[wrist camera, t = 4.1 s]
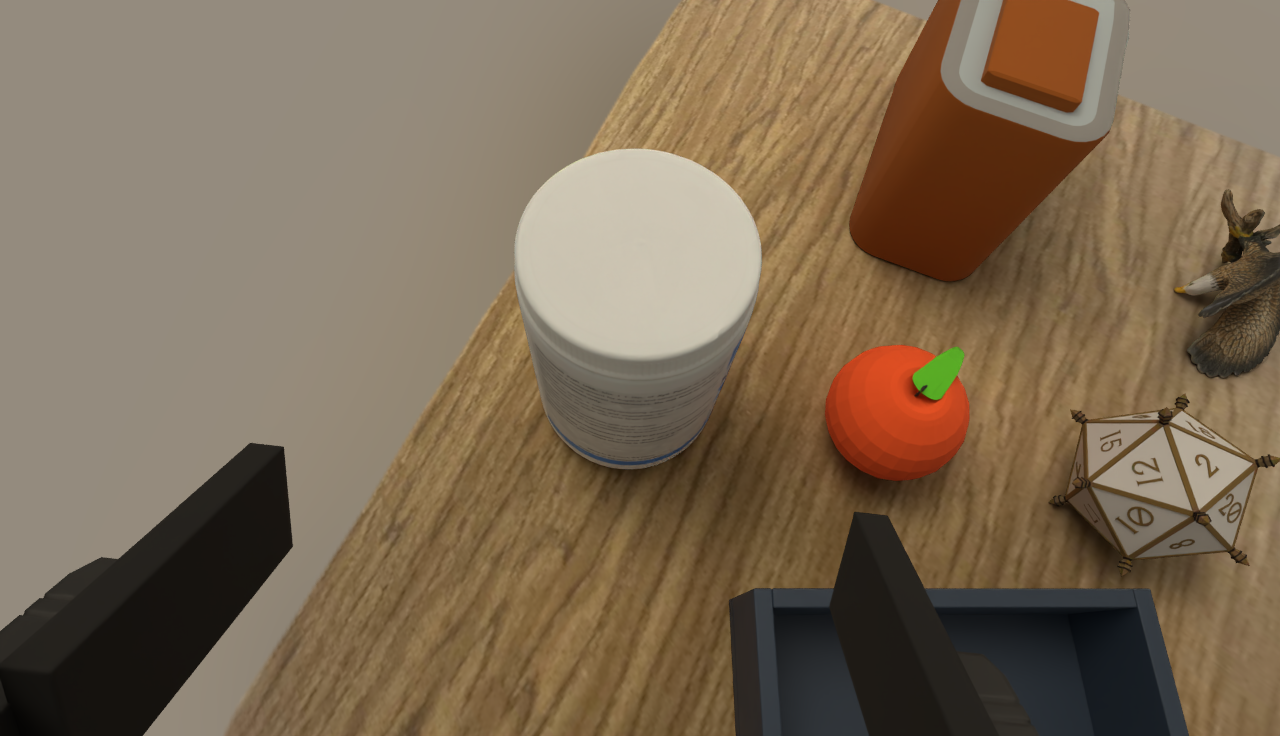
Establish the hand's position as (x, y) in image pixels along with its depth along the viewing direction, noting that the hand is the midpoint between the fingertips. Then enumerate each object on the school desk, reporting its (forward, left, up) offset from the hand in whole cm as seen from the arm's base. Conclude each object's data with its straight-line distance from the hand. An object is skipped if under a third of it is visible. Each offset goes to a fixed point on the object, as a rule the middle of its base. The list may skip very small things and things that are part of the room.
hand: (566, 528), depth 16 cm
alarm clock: (+22, +26, -21) cm, 40 cm away
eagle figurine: (+38, +17, -21) cm, 47 cm away
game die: (+28, +5, -21) cm, 35 cm away
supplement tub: (+2, +11, -21) cm, 24 cm away
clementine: (+16, +9, -21) cm, 28 cm away
